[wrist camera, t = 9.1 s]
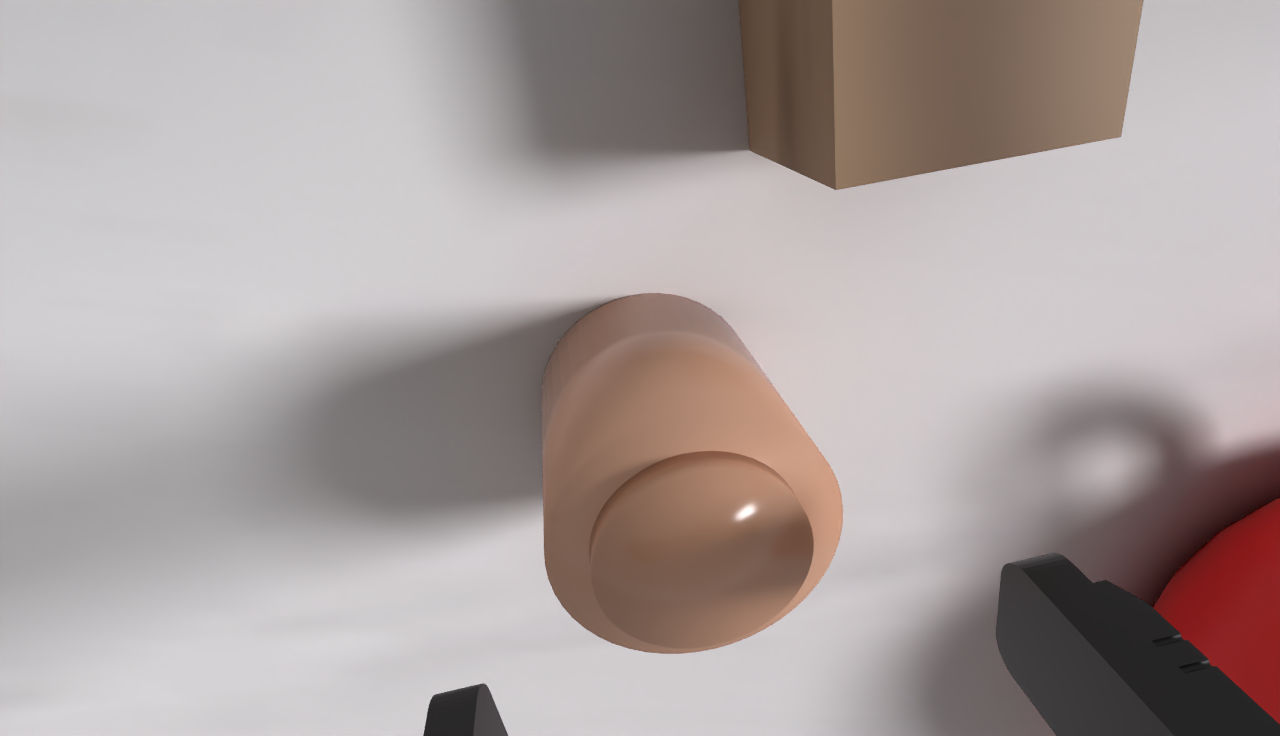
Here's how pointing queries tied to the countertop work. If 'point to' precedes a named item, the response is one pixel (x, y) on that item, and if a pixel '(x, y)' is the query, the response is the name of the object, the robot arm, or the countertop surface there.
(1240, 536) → the teapot
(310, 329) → the countertop surface
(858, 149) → the block
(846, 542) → the countertop surface
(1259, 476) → the countertop surface
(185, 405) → the countertop surface
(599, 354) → the dome-topped cylinder
